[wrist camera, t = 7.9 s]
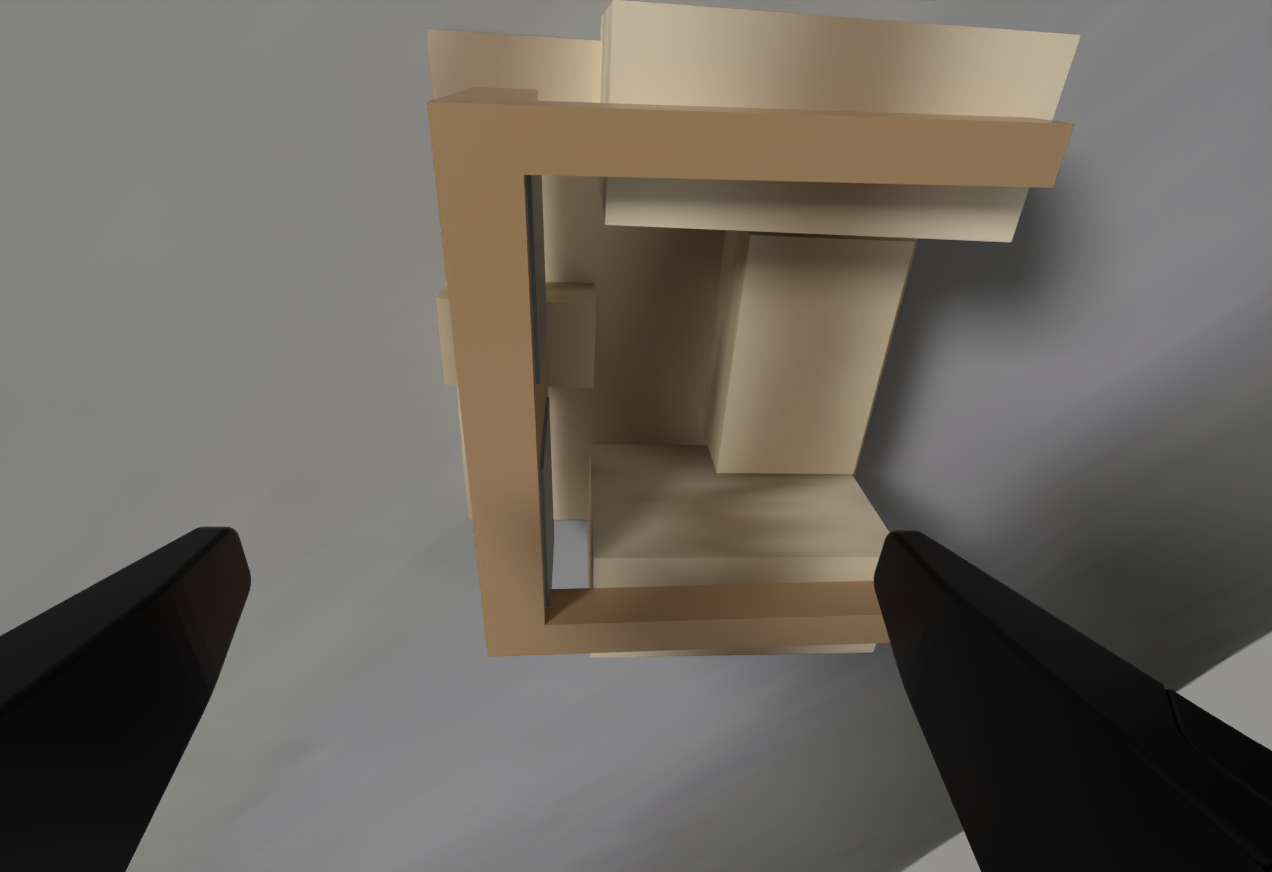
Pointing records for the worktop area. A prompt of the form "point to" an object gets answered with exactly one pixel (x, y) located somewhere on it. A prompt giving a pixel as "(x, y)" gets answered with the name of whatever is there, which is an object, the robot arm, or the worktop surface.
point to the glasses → (517, 319)
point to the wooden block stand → (738, 286)
